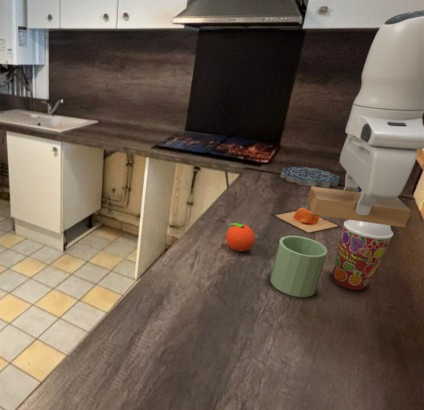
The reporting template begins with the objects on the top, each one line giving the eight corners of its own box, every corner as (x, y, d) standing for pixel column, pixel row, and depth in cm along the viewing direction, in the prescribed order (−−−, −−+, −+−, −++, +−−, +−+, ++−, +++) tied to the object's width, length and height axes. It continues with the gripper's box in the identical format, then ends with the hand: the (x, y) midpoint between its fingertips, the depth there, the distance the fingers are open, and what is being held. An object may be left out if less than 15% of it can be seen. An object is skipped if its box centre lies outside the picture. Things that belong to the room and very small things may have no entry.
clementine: (215, 247, 95) (219, 223, 92) (228, 238, 99) (233, 215, 96) (244, 259, 89) (249, 234, 86) (257, 250, 93) (262, 225, 90)
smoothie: (318, 276, 82) (343, 196, 74) (343, 268, 85) (370, 190, 77) (354, 297, 75) (386, 211, 67) (380, 289, 78) (414, 205, 70)
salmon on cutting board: (302, 210, 116) (306, 198, 115) (338, 226, 106) (342, 213, 104) (274, 215, 112) (277, 203, 111) (308, 232, 102) (312, 219, 100)
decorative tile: (272, 171, 154) (273, 165, 153) (319, 171, 153) (321, 166, 152) (295, 187, 135) (297, 181, 134) (349, 188, 134) (351, 182, 133)
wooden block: (307, 201, 68) (311, 186, 67) (390, 212, 63) (396, 196, 62) (312, 214, 62) (317, 198, 61) (404, 227, 58) (411, 210, 57)
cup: (311, 278, 82) (323, 240, 78) (317, 301, 74) (331, 260, 70) (269, 270, 85) (278, 232, 81) (271, 291, 77) (281, 251, 73)
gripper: (342, 113, 67) (322, 183, 72) (376, 136, 49) (347, 225, 55) (383, 116, 64) (360, 187, 70) (434, 140, 47) (397, 233, 53)
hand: (354, 204), depth 62 cm, fingers closed on wooden block, 6 cm apart
